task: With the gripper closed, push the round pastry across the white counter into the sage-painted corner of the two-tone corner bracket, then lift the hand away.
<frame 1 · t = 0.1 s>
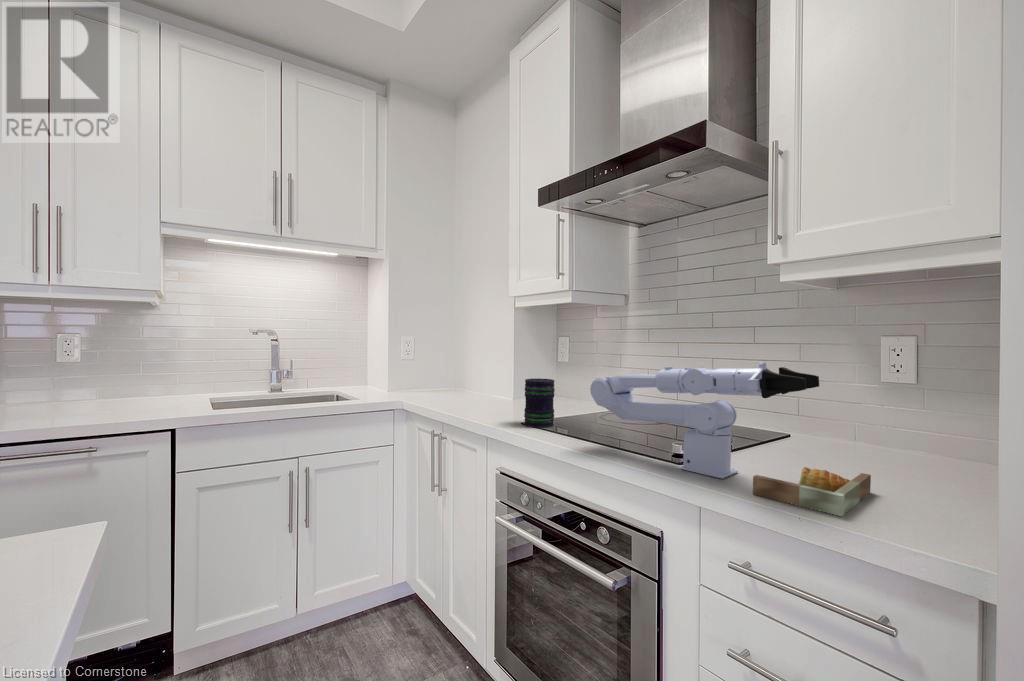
hand: (812, 382, 92), 22 cm above the worktop, tool horizontal, fingers open, 7 cm apart
storage jar: (539, 425, 158), on the worktop
two-tone corner bracket: (813, 492, 94), on the worktop
pastry: (822, 489, 97), on the worktop
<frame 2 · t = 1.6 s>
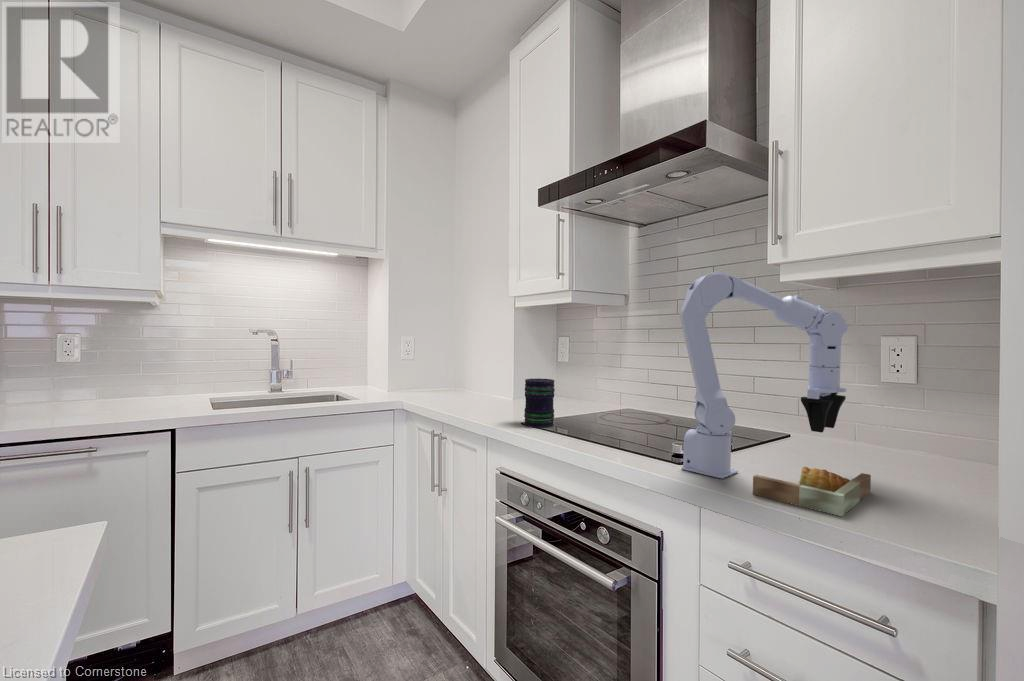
hand: (822, 429, 104), 10 cm above the worktop, tool pointing down, fingers open, 7 cm apart
nothing on the worktop moved.
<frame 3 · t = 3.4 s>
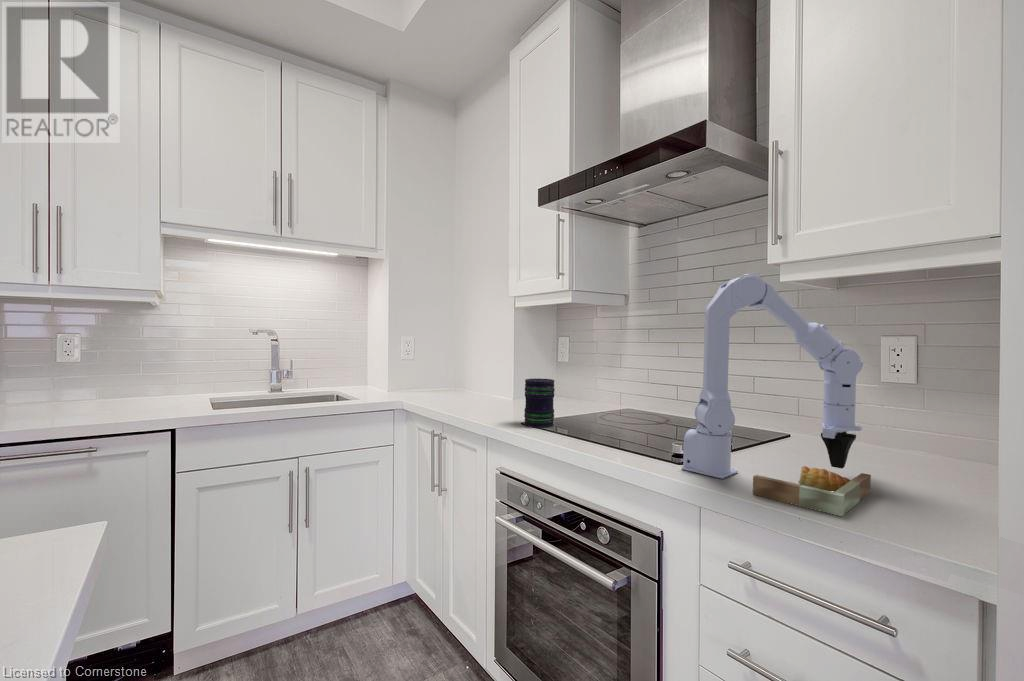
hand: (837, 467, 103), 3 cm above the worktop, tool pointing down, fingers closed
nothing on the worktop moved.
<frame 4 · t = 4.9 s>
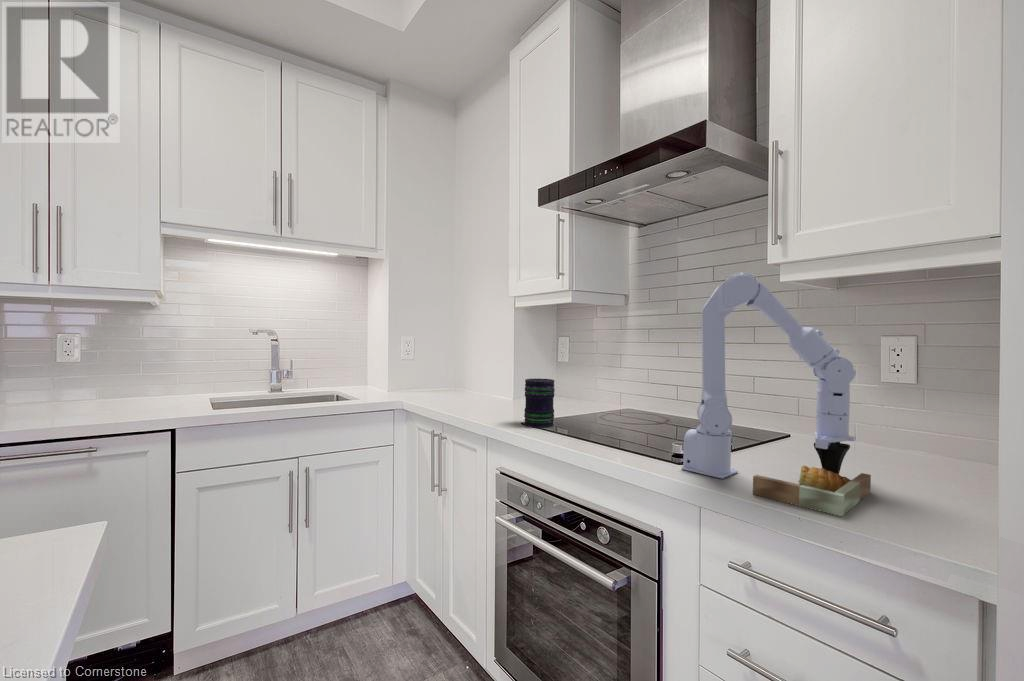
hand: (830, 477, 100), 1 cm above the worktop, tool pointing down, fingers closed
pastry: (821, 487, 98), on the worktop, touching gripper
everything else where it was.
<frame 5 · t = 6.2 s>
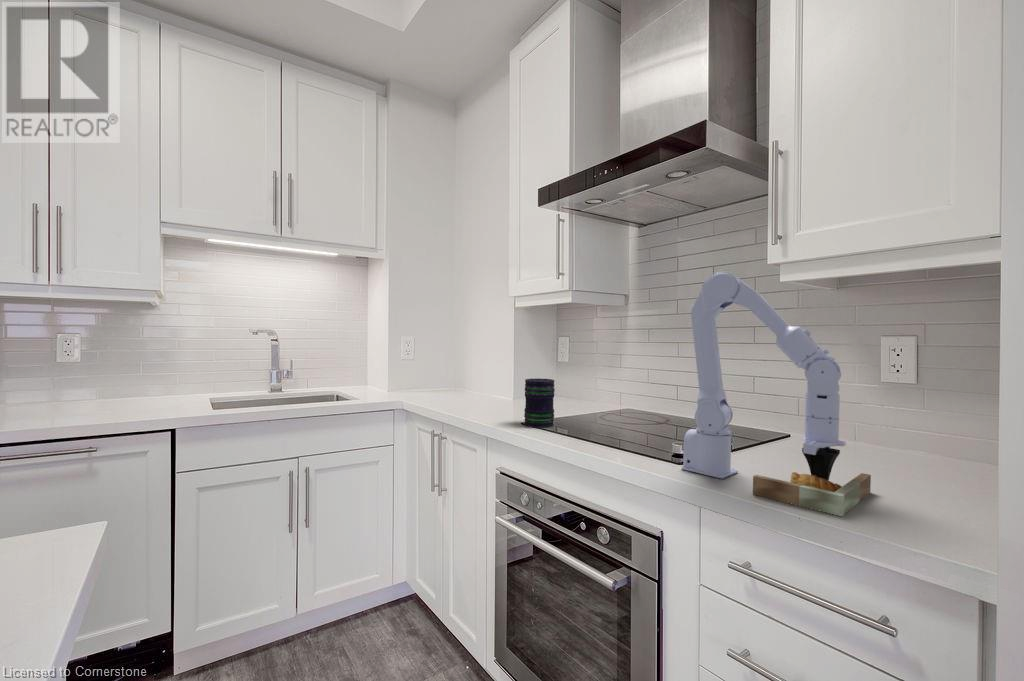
hand: (820, 484, 96), 1 cm above the worktop, tool pointing down, fingers closed
pastry: (812, 495, 93), on the worktop, touching gripper
everything else where it was.
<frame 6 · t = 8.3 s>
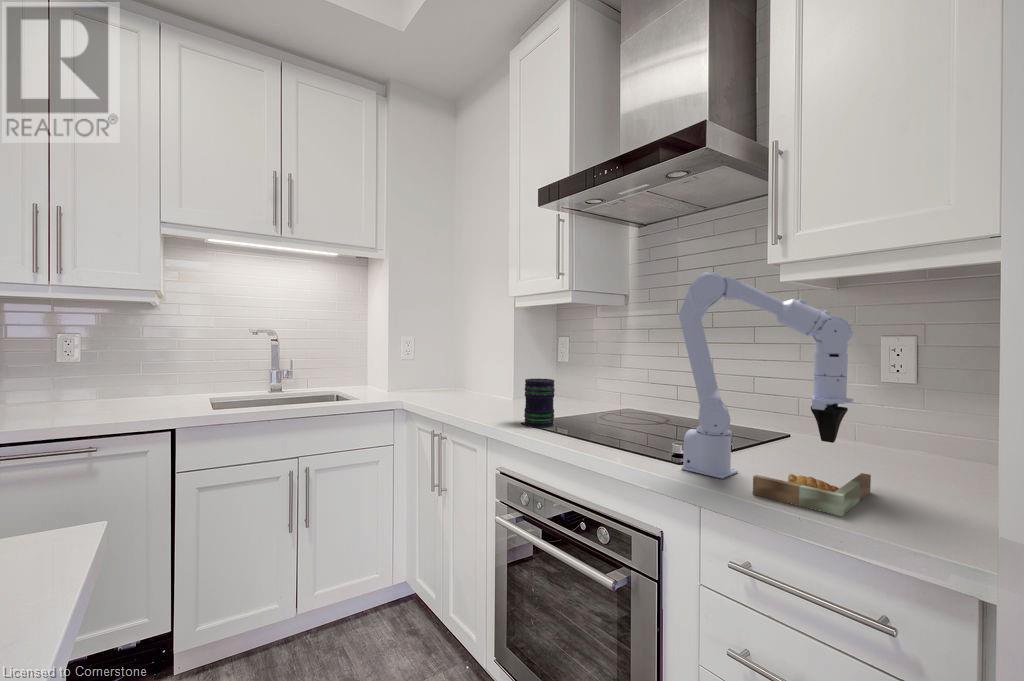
hand: (828, 441, 98), 9 cm above the worktop, tool pointing down, fingers closed
pastry: (809, 497, 92), on the worktop
everything else where it was.
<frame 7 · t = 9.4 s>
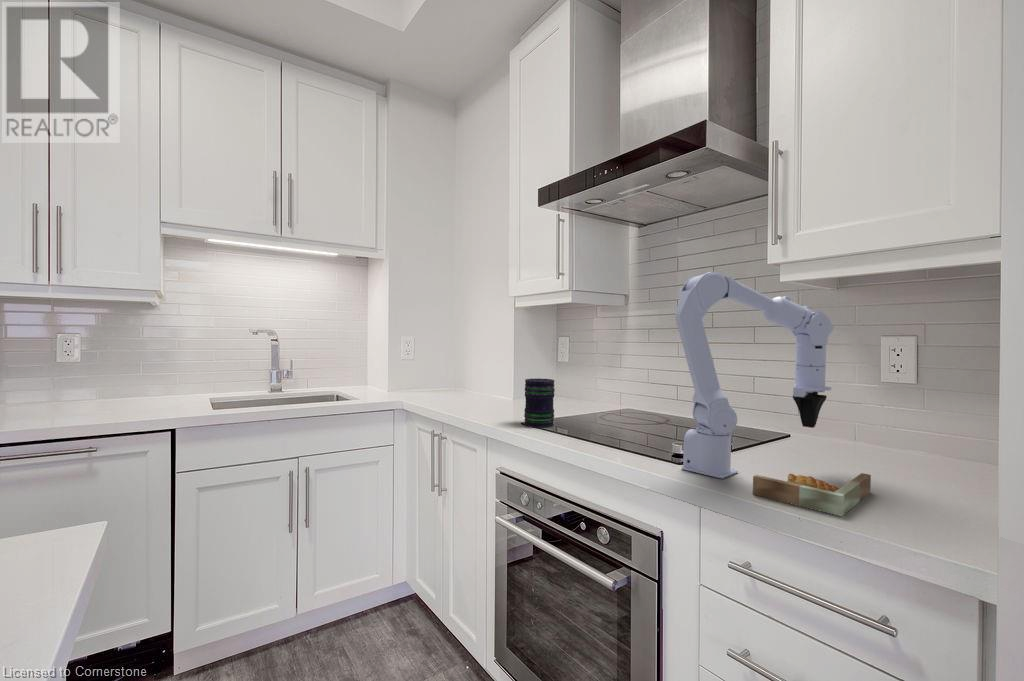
hand: (808, 426, 107), 10 cm above the worktop, tool pointing down, fingers closed
nothing on the worktop moved.
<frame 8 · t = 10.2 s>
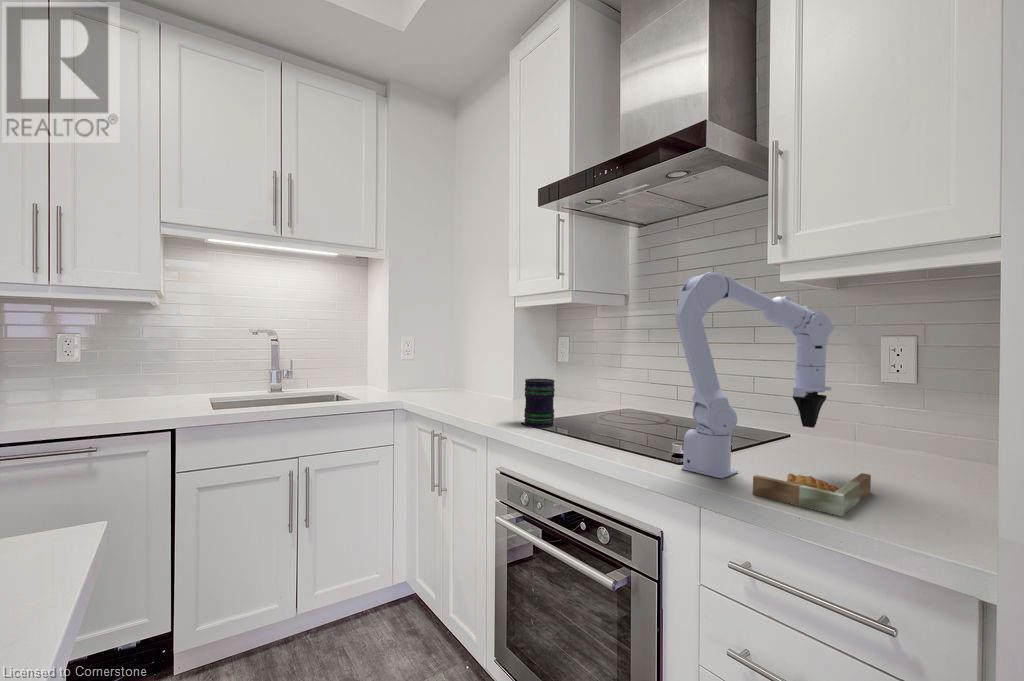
hand: (808, 426, 107), 10 cm above the worktop, tool pointing down, fingers closed
nothing on the worktop moved.
at the end: pastry inside the target area (2.1 cm from its centre), on the worktop; pastry moved 7.1 cm from its start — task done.
